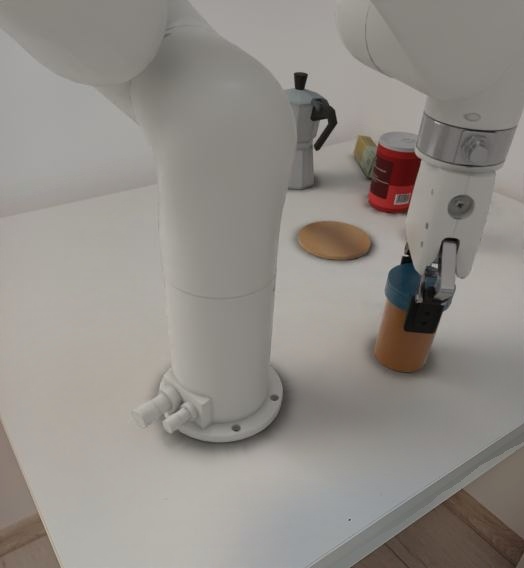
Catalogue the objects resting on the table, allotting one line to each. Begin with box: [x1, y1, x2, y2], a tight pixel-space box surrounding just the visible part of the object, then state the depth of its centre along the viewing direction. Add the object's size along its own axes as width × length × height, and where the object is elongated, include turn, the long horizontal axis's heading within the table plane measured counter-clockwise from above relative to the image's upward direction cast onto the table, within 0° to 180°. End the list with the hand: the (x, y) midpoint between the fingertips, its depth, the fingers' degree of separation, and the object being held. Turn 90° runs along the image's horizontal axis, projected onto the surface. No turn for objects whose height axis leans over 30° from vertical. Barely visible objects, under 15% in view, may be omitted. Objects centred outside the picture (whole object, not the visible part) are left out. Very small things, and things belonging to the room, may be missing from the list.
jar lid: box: [384, 263, 457, 313], centre depth 53 cm, size 7×7×2 cm
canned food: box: [367, 131, 422, 214], centre depth 86 cm, size 8×8×11 cm
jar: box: [373, 298, 444, 373], centre depth 56 cm, size 6×6×10 cm
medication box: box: [352, 134, 378, 180], centre depth 100 cm, size 12×3×4 cm, turn 7°
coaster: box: [297, 220, 371, 261], centre depth 79 cm, size 11×11×1 cm
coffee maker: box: [283, 71, 338, 190], centre depth 89 cm, size 15×9×18 cm, turn 43°
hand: (413, 308), depth 55 cm, fingers closed on jar lid, 6 cm apart
